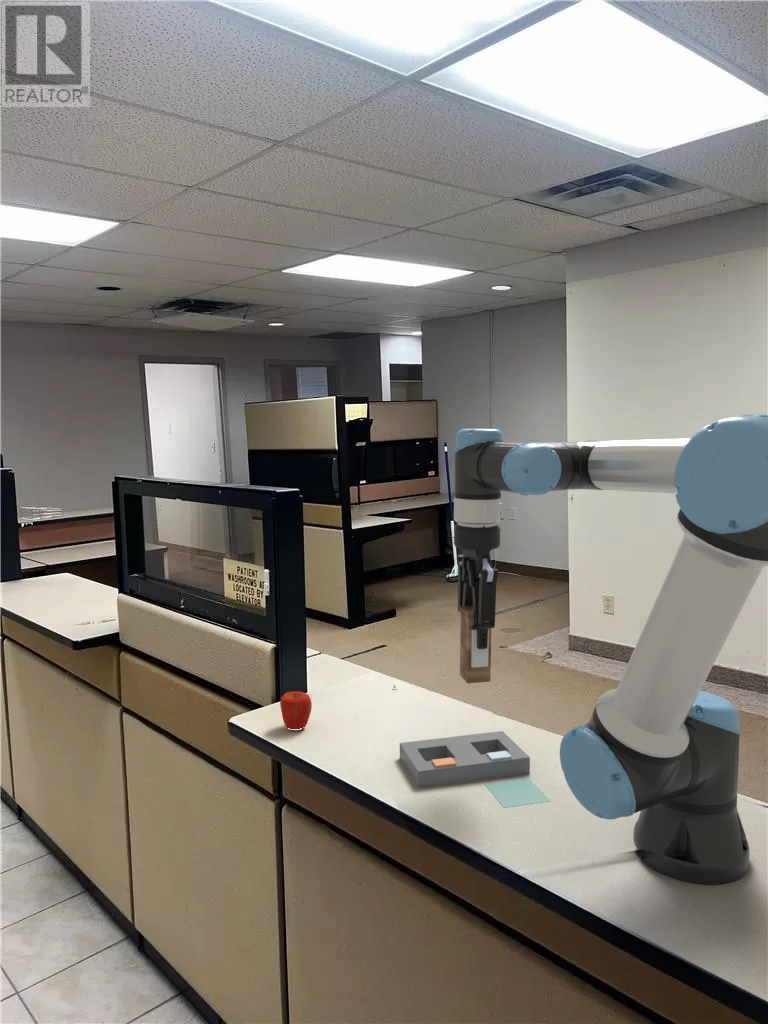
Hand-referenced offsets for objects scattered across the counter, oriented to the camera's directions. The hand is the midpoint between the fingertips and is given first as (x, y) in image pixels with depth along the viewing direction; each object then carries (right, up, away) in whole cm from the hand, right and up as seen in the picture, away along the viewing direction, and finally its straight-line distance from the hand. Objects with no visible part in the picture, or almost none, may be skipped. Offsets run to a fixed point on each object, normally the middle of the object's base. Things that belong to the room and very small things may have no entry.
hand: (474, 661), depth 124 cm
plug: (0, -3, 0) cm, 3 cm away
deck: (+7, -22, -3) cm, 23 cm away
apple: (-33, -20, +29) cm, 48 cm away
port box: (-1, -21, +7) cm, 22 cm away
